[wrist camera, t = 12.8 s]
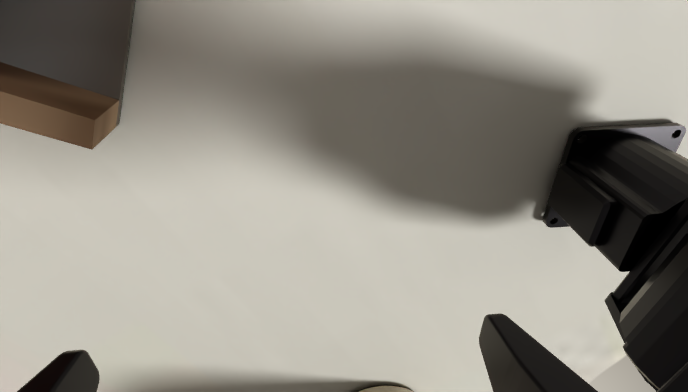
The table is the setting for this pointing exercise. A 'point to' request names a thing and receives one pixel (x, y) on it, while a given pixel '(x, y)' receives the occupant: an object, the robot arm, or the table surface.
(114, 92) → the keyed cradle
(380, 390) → the travel mug
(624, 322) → the robot arm
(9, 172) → the table surface
